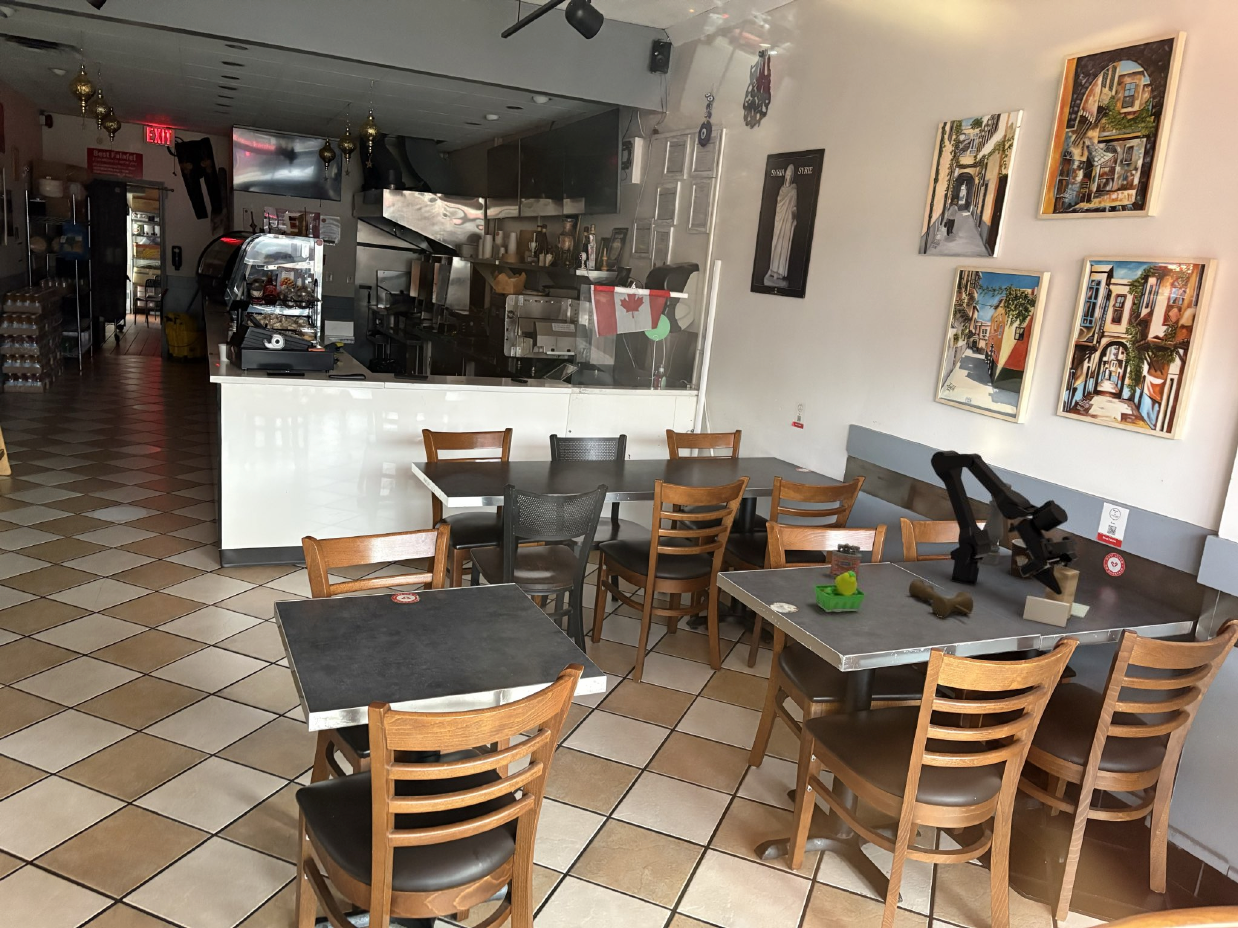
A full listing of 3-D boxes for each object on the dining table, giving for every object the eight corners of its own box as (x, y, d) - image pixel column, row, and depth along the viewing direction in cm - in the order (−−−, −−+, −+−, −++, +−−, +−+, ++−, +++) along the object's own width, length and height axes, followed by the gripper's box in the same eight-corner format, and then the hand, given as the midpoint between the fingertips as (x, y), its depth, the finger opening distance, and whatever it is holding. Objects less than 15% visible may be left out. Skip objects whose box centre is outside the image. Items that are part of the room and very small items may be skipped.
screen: (1023, 618, 234) (1027, 596, 233) (1023, 616, 235) (1027, 595, 234) (1065, 627, 230) (1069, 605, 229) (1064, 625, 231) (1069, 603, 230)
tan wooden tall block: (1041, 613, 238) (1050, 567, 235) (1051, 610, 241) (1061, 565, 238) (1059, 621, 234) (1068, 574, 231) (1069, 617, 237) (1079, 571, 234)
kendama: (926, 595, 247) (983, 622, 229) (899, 599, 243) (955, 627, 225) (929, 574, 245) (986, 600, 228) (902, 578, 241) (958, 604, 224)
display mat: (1042, 607, 243) (1043, 605, 243) (1050, 597, 251) (1050, 596, 251) (1083, 618, 238) (1083, 616, 237) (1089, 608, 246) (1089, 606, 245)
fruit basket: (848, 601, 236) (854, 561, 233) (867, 615, 227) (873, 573, 225) (810, 603, 232) (815, 562, 229) (827, 617, 224) (833, 574, 221)
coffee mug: (999, 571, 270) (1005, 540, 268) (1020, 569, 274) (1026, 538, 272) (1031, 585, 260) (1038, 553, 258) (1052, 583, 264) (1058, 551, 261)
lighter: (828, 577, 253) (833, 543, 251) (829, 573, 256) (834, 540, 254) (857, 582, 251) (862, 548, 248) (858, 578, 254) (863, 545, 252)
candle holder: (999, 565, 276) (1014, 487, 270) (978, 563, 277) (993, 485, 271) (995, 559, 282) (1010, 483, 276) (975, 556, 283) (989, 480, 277)
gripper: (1039, 529, 230) (1072, 584, 223) (1077, 522, 240) (1110, 574, 234) (1005, 549, 238) (1036, 602, 232) (1044, 541, 248) (1075, 592, 242)
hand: (1065, 592), depth 235 cm, fingers closed on tan wooden tall block, 5 cm apart
